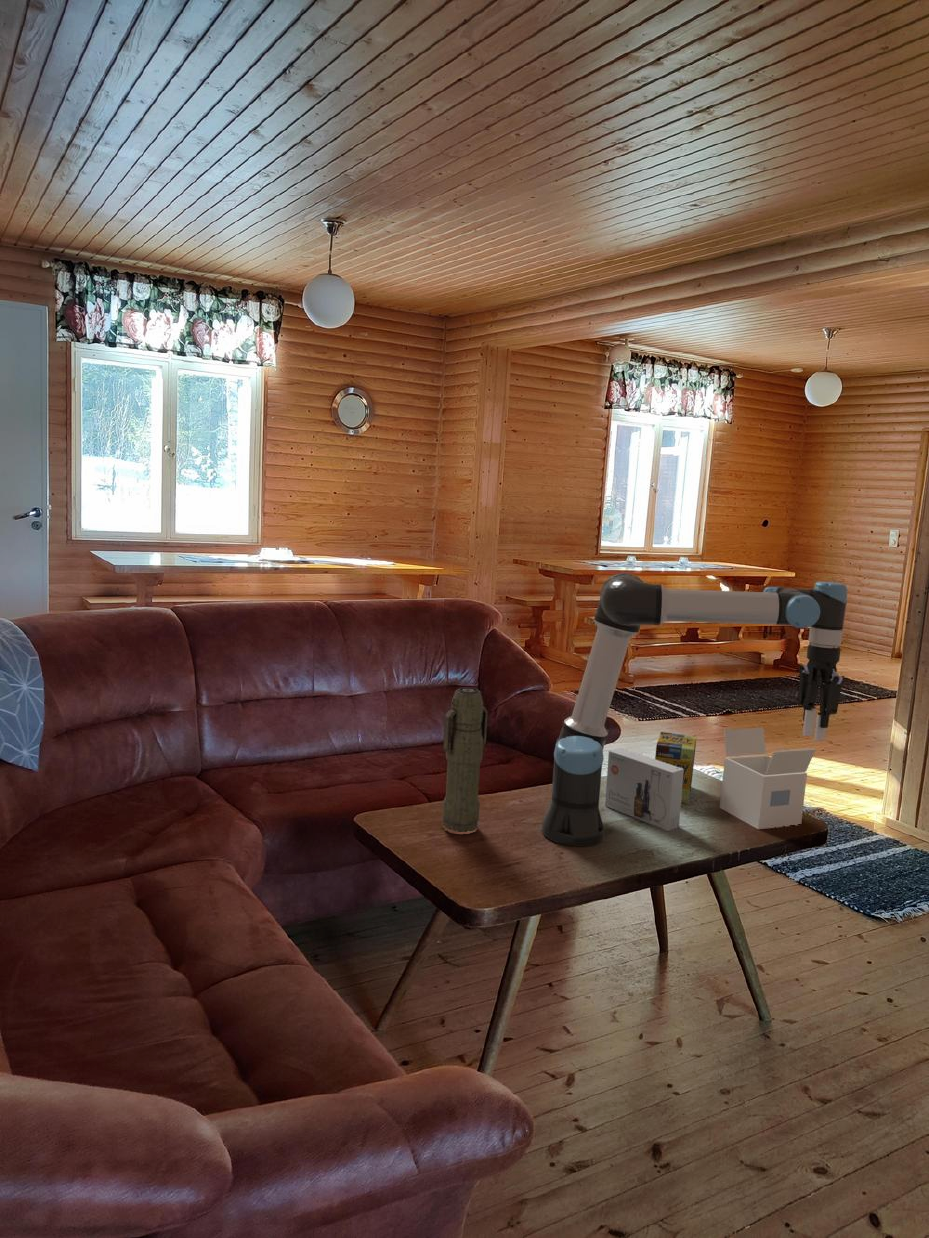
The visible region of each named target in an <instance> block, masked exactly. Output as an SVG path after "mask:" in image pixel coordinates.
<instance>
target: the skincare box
mask: <svg viewBox="0 0 929 1238" xmlns="http://www.w3.org/2000/svg"><path fill="white" fill-rule="evenodd" d="M683 773H684V769H682V768H679V767H676V766H673V765H670V764H667V763H664V762H661V761H658V760H655V758H653V757H649V756H646V755H643V754H640V753H637V752H633V751H630V750H628V749H625V748H622V747H616V748H613V749H610V750H608V758H607V773H606V786H605V787H606V788H605V797H604V798H605V802H604V806H605V807H607V808H609V809H612V810H615V811H618V812H620V813H622V814H624V815H625V814H626V815H628V816H630V817H632V818H634V819H636V820H640V821H643V822H644V823H647V824H650V825H652V826H655V827H657V828H660V829H662V830H664V831H667V832H668V831H672V830H674V829H677V828H680V817H681V806H682V802H681V799H682V783H683Z"/></svg>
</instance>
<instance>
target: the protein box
mask: <svg viewBox="0 0 929 1238" xmlns="http://www.w3.org/2000/svg"><path fill="white" fill-rule="evenodd" d="M696 745H697V736H692V735H684V734H678V733H674V732H673V733H672V732H666V731H660V734H659V737H658V740H657V742H656V746H655V754H654V759H655V760H658V761H661V762H664V763H667V764H670V765H673V766H676V767H679V768H682V769H684V773H683V783H682V799H681V803H686V804H688V803H690V797H691V791H692V783H693V775H694V774H693V773H694V764H695V755H696V748H697V746H696Z"/></svg>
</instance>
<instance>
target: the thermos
mask: <svg viewBox="0 0 929 1238" xmlns="http://www.w3.org/2000/svg"><path fill="white" fill-rule="evenodd" d="M488 714H489V712H488V710H487V708H486V706H484V701H483V696H482V692H481V691H480V690H479V689H477V688H473V687H459V688H458V689H456V690H455V691H454V694H453V697H452V700H451V708H450V710H448V711H447V712H446V714H445V716H444V728H443V731H444V732H443V742H442V743H443V744H442V745H443V746H442V749H443V750H444V751H445V759H446V761H447V768H446V769H447V770H446V788H445V789H446V791H445V797H444V799H443V801H442V826H443V825H444V826H445V827H446V828H448V829H450V830H454V831H458V832H467V831H473V830H475V829H476V828H477V827H478V821H479V819H480V806H481V804H480V801H479V786H480V785H479V784H480V773H481V772H480V771H481V770H480V768H481V763H482V761H483V753H484V748H486V744H487V743H486V742H487V733H488V732H487V731H488V730H487V729H488V717H489V716H488ZM477 829H478V828H477Z"/></svg>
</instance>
